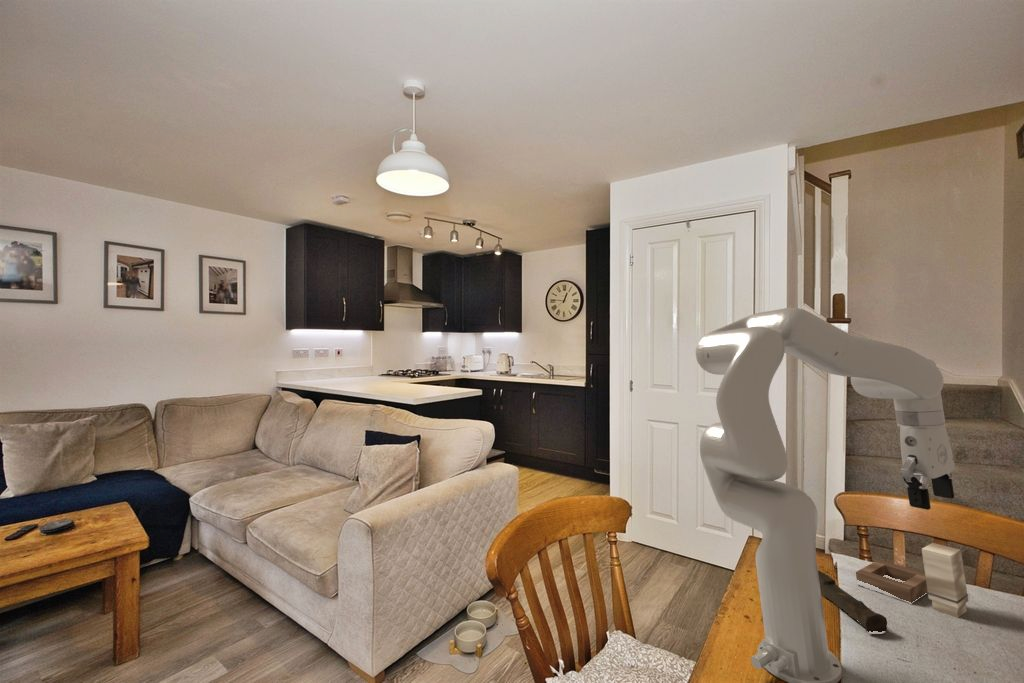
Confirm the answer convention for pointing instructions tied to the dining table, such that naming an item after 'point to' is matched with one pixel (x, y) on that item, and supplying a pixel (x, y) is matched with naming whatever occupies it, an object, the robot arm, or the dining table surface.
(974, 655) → the dining table surface
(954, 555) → the peg
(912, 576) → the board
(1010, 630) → the dining table surface
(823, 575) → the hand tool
